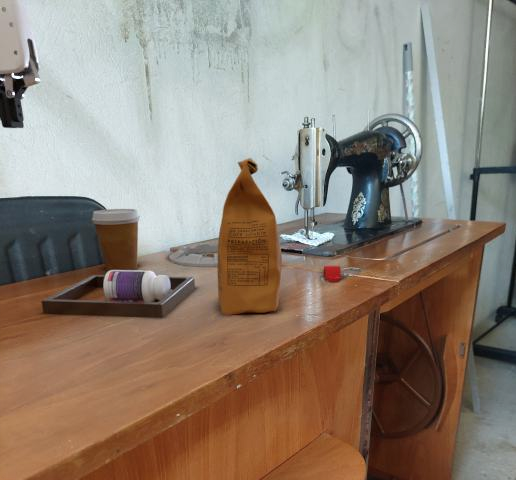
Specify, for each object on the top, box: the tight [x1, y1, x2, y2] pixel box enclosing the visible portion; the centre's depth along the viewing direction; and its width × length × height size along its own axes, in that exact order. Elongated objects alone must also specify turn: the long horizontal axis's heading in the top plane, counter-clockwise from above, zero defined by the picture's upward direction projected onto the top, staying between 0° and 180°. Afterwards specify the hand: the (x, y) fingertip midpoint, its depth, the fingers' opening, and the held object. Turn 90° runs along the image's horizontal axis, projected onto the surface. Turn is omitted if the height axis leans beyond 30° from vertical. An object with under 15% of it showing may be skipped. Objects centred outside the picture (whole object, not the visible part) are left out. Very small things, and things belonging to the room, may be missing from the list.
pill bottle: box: [103, 269, 172, 302], centre depth 84 cm, size 5×5×10 cm
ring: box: [169, 242, 218, 267], centre depth 119 cm, size 19×19×2 cm
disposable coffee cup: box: [91, 208, 141, 272], centre depth 107 cm, size 10×10×12 cm
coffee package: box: [217, 157, 283, 316], centre depth 78 cm, size 10×12×22 cm
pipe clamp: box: [323, 265, 342, 283], centre depth 99 cm, size 8×3×2 cm, turn 179°
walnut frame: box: [41, 274, 196, 319], centre depth 85 cm, size 19×17×2 cm
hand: (13, 127), depth 80 cm, fingers closed
